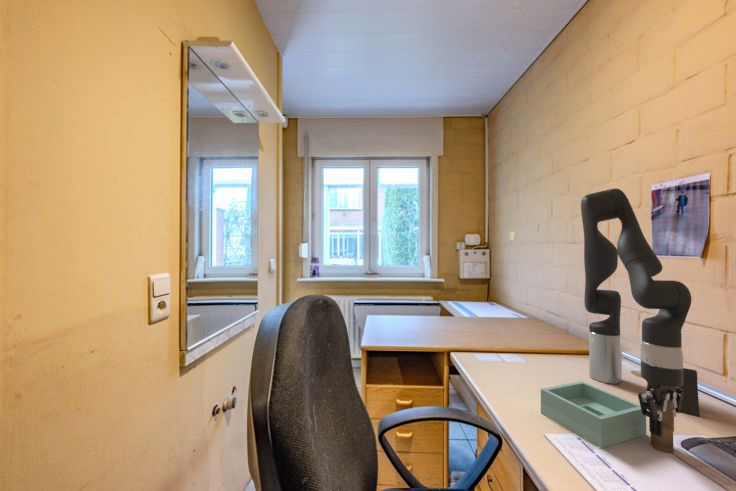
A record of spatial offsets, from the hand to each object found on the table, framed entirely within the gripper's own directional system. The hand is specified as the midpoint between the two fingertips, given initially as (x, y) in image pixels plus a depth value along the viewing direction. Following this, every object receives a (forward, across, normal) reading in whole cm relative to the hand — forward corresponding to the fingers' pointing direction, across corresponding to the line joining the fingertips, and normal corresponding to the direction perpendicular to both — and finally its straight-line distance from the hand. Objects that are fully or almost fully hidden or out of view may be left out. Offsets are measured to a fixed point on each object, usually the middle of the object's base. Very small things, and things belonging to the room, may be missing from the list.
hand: (661, 432), depth 74 cm
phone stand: (+4, -30, -10) cm, 32 cm away
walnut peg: (+4, 0, 0) cm, 4 cm away
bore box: (+4, +6, -13) cm, 15 cm away
